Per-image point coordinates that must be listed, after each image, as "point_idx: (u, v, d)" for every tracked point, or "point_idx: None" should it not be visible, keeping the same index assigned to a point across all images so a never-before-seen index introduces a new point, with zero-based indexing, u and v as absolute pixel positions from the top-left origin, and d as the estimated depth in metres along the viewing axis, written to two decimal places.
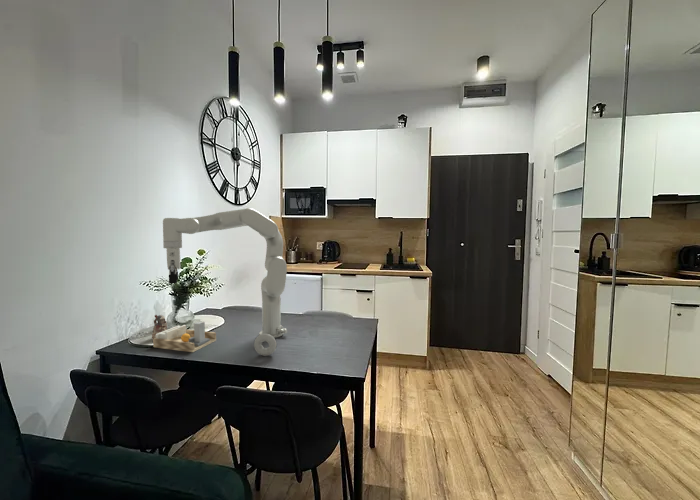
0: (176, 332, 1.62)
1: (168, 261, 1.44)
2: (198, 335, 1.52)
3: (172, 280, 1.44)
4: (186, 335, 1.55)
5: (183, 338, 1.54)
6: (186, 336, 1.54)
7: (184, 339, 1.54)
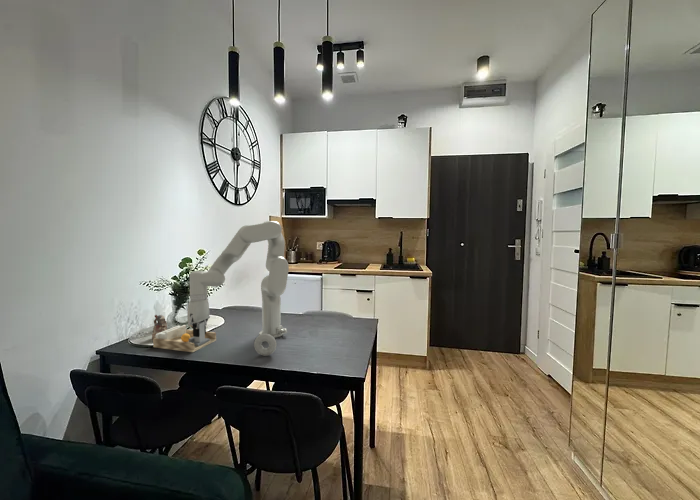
0: (176, 332, 1.62)
1: None
2: None
3: None
4: (186, 335, 1.55)
5: (183, 338, 1.54)
6: (186, 336, 1.54)
7: (184, 339, 1.54)
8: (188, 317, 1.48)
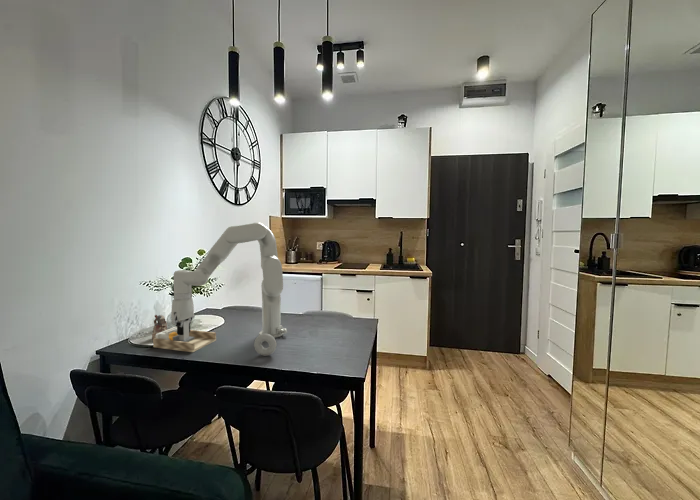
0: (176, 332, 1.62)
1: None
2: None
3: None
4: None
5: (169, 338, 1.56)
6: None
7: (169, 336, 1.56)
8: (172, 315, 1.51)
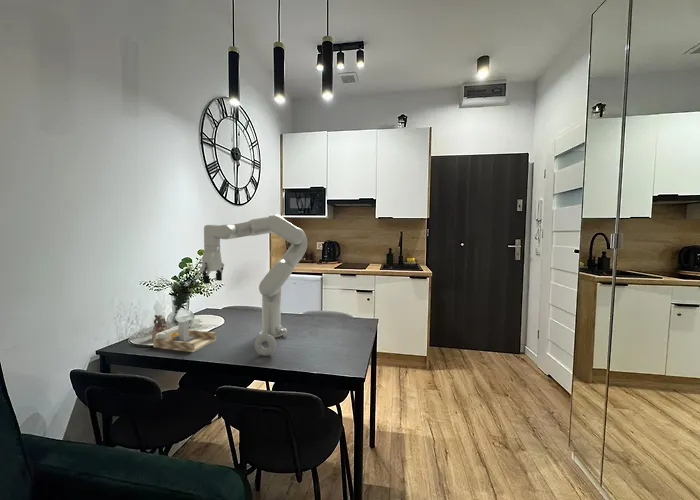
0: None
1: None
2: (182, 333, 1.54)
3: None
4: None
5: (171, 337, 1.56)
6: None
7: (171, 336, 1.56)
8: None
